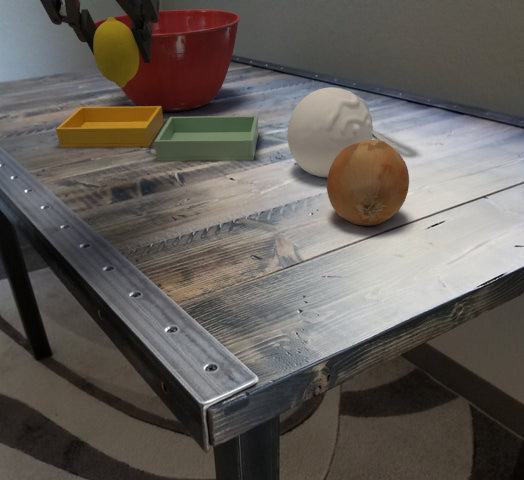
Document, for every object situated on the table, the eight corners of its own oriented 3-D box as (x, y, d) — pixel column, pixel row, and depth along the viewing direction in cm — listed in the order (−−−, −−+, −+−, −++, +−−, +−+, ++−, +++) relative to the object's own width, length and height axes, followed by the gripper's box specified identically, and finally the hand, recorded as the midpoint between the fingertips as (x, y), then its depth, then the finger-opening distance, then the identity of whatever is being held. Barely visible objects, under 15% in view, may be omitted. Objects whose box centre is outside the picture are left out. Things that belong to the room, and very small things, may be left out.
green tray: (157, 163, 92) (154, 141, 89) (172, 137, 102) (169, 116, 100) (253, 162, 91) (252, 140, 89) (258, 136, 101) (257, 115, 99)
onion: (390, 203, 77) (399, 125, 71) (415, 236, 69) (427, 152, 63) (318, 208, 76) (321, 130, 70) (335, 242, 68) (339, 158, 62)
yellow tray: (60, 150, 98) (55, 128, 96) (84, 126, 109) (80, 107, 107) (149, 149, 97) (146, 127, 95) (164, 125, 108) (161, 106, 106)
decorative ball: (335, 197, 79) (340, 105, 72) (270, 177, 86) (269, 91, 78) (385, 172, 86) (393, 86, 79) (321, 155, 92) (324, 74, 85)
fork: (401, 159, 90) (402, 148, 89) (330, 119, 108) (331, 109, 107) (419, 156, 91) (420, 145, 90) (346, 117, 109) (346, 107, 108)
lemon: (151, 87, 75) (142, 16, 70) (113, 95, 72) (101, 22, 67) (129, 80, 78) (119, 12, 74) (92, 87, 75) (79, 17, 71)
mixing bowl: (122, 134, 104) (106, 37, 95) (92, 98, 125) (76, 16, 116) (265, 112, 113) (263, 22, 104) (214, 82, 134) (209, 4, 125)
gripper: (-51, -69, 53) (53, 80, 76) (148, -75, 52) (193, 79, 75) (-43, -141, 54) (58, 28, 77) (152, -148, 53) (195, 26, 76)
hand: (124, 53), depth 76 cm, fingers closed on lemon, 5 cm apart
